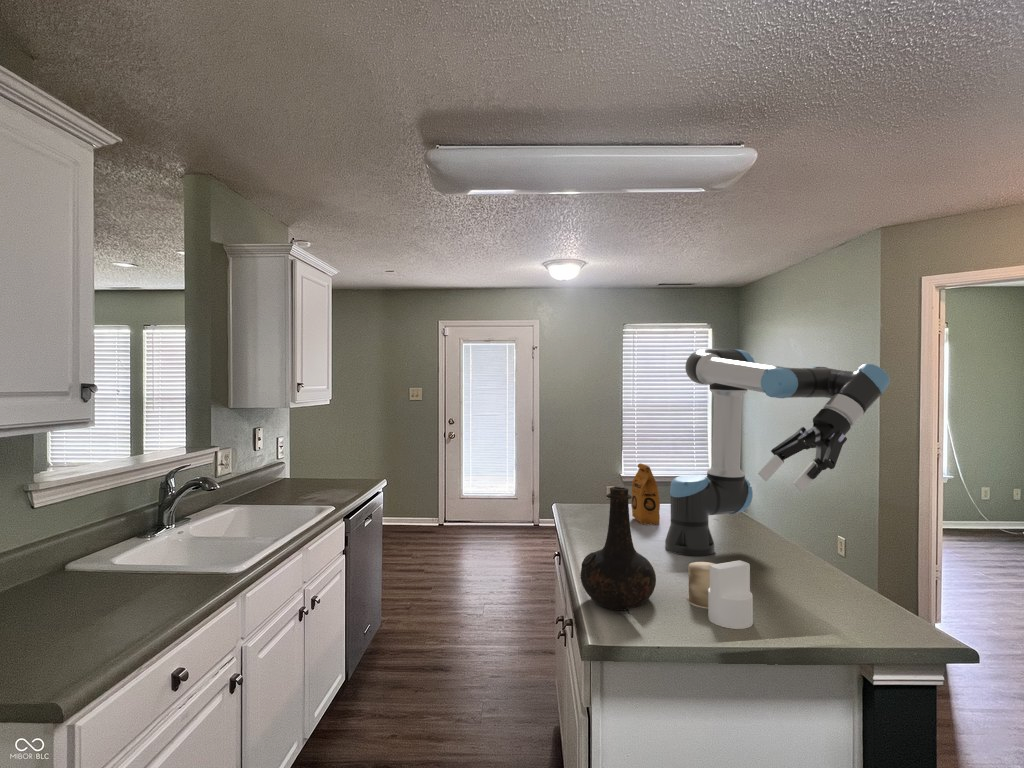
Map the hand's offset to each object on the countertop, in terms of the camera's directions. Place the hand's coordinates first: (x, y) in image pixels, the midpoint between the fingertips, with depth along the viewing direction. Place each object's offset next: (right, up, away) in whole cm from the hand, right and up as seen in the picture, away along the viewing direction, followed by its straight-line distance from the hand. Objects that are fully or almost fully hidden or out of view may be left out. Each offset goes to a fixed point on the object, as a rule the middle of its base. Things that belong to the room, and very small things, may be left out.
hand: (778, 482), depth 129 cm
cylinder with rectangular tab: (-15, -28, -10) cm, 34 cm away
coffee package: (-11, -31, +85) cm, 91 cm away
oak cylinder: (-17, -28, +1) cm, 33 cm away
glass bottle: (-37, -30, +3) cm, 48 cm away
